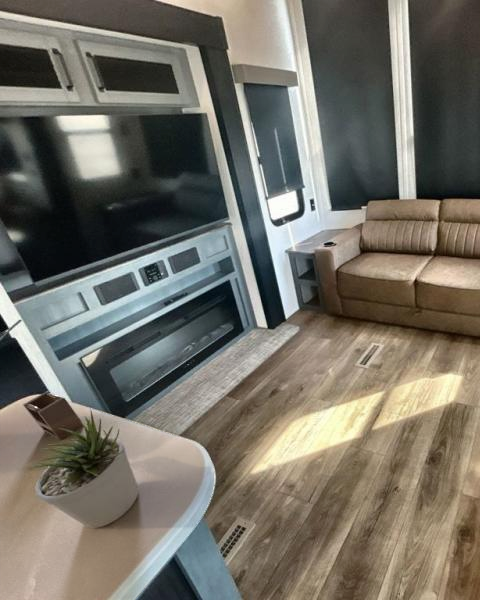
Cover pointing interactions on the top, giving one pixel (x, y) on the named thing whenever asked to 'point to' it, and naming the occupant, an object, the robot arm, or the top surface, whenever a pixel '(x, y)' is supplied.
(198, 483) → the top surface
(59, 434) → the brown open box
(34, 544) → the top surface
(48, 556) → the top surface
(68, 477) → the potted plant
